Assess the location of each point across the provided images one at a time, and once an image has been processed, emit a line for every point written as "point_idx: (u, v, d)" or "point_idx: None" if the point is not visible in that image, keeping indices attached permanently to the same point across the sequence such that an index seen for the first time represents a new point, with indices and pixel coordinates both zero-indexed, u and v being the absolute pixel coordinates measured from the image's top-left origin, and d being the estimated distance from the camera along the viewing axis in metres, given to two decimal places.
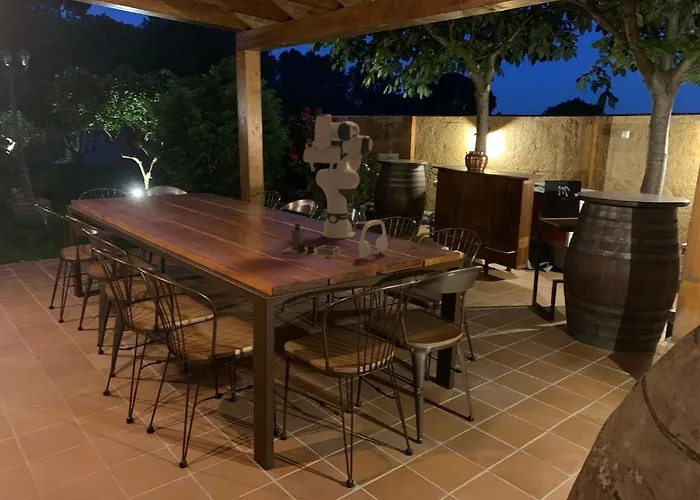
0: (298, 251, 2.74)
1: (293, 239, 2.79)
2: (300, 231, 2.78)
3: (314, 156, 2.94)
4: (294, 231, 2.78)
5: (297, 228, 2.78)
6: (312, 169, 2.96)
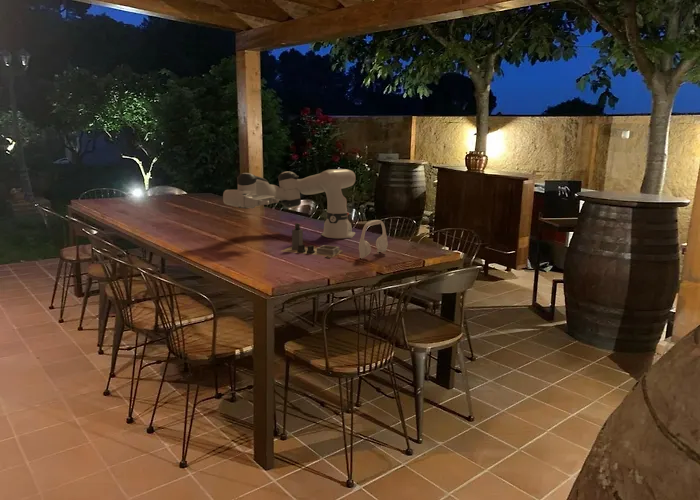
0: (298, 251, 2.74)
1: (293, 239, 2.79)
2: (300, 231, 2.78)
3: (256, 197, 2.82)
4: (294, 231, 2.78)
5: (297, 228, 2.78)
6: (267, 201, 2.78)
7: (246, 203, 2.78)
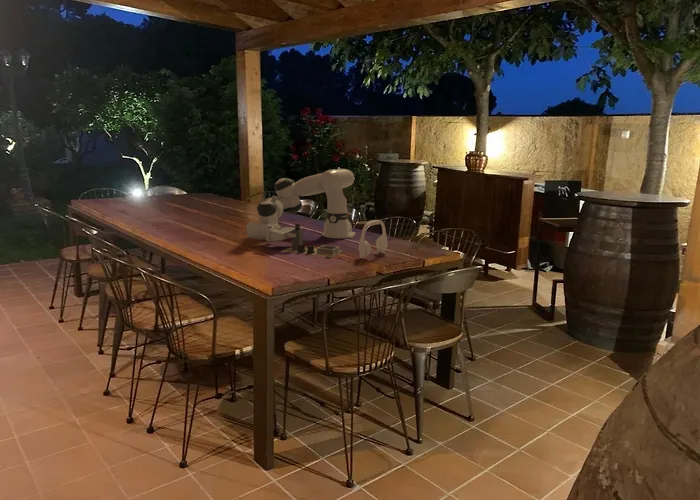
0: (298, 251, 2.74)
1: (293, 239, 2.79)
2: (300, 231, 2.78)
3: (282, 231, 2.79)
4: (294, 231, 2.78)
5: (297, 228, 2.78)
6: (295, 233, 2.78)
7: (271, 237, 2.75)
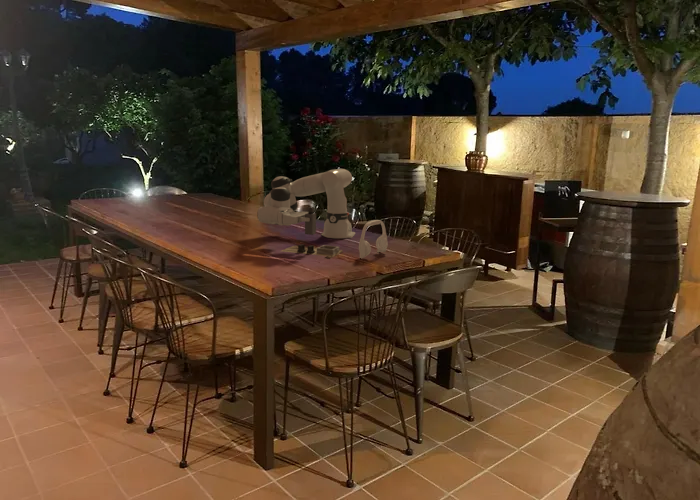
0: (298, 251, 2.74)
1: (306, 223, 2.70)
2: (313, 215, 2.69)
3: (294, 214, 2.70)
4: (307, 215, 2.69)
5: (310, 212, 2.69)
6: (308, 217, 2.68)
7: (284, 221, 2.66)
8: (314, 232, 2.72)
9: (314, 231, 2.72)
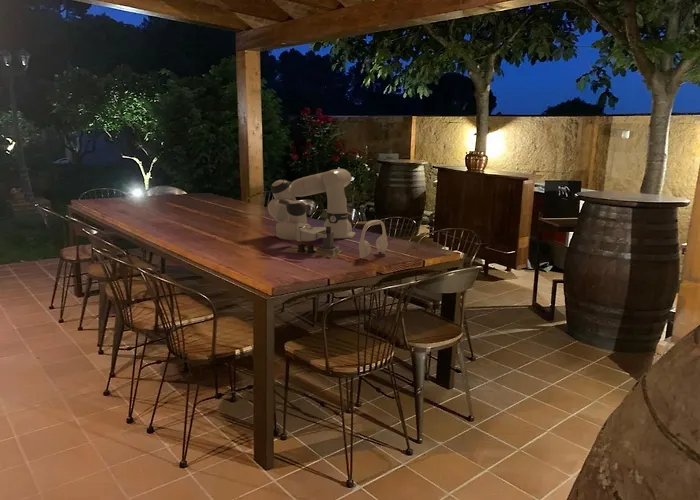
0: (298, 251, 2.74)
1: (324, 242, 2.73)
2: (331, 234, 2.72)
3: (312, 231, 2.73)
4: None
5: (328, 231, 2.73)
6: None
7: (302, 237, 2.69)
8: None
9: None
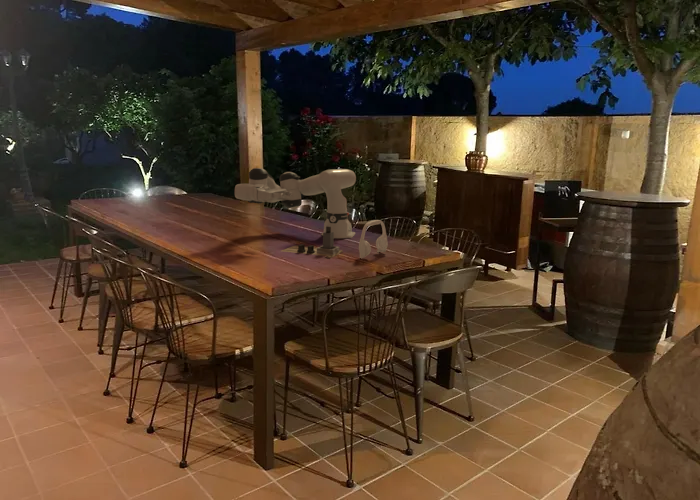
0: (298, 251, 2.74)
1: (324, 242, 2.73)
2: (331, 234, 2.72)
3: None
4: (325, 234, 2.72)
5: (328, 231, 2.73)
6: (280, 193, 2.76)
7: (259, 196, 2.75)
8: None
9: None
